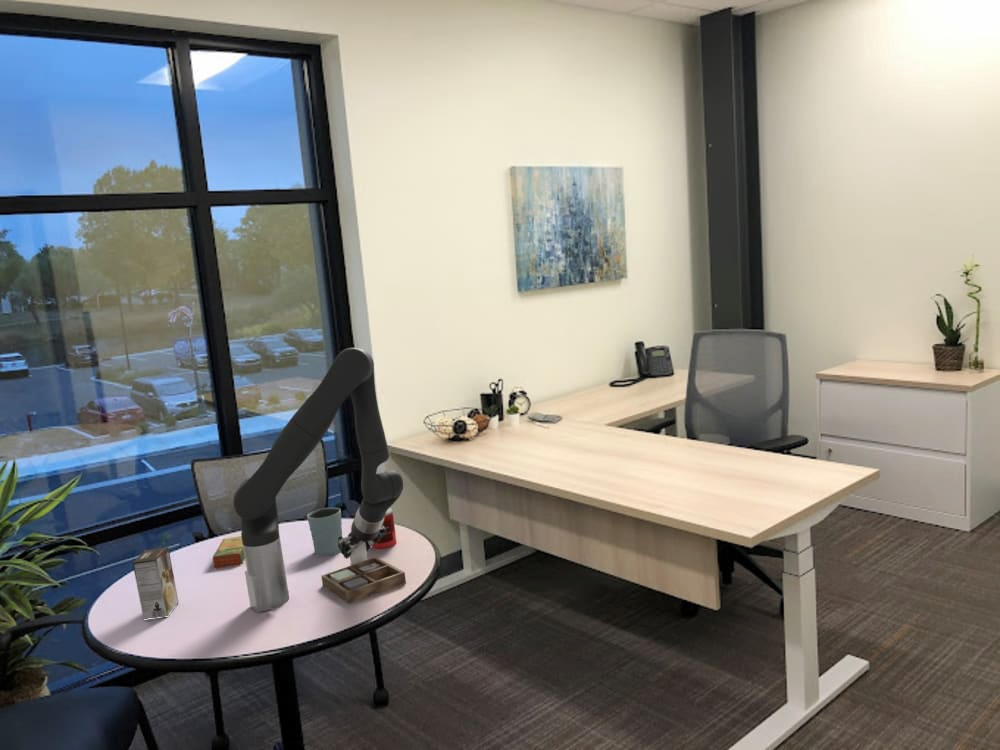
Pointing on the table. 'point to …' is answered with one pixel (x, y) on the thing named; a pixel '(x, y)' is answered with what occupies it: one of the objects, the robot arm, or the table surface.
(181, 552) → the table surface
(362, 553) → the glue stick
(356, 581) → the eraser
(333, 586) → the organizer
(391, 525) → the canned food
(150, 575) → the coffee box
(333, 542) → the green cup
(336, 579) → the note block
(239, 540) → the carton
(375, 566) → the grey rectangular block
